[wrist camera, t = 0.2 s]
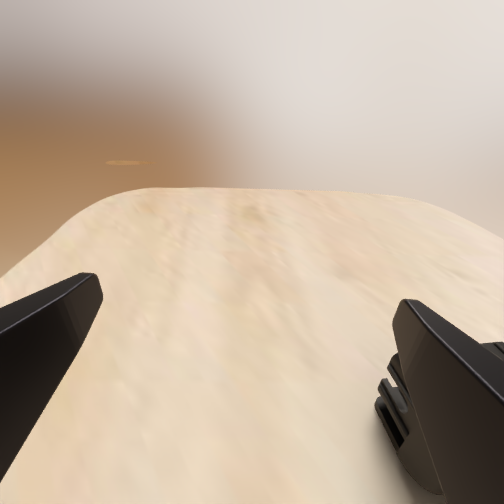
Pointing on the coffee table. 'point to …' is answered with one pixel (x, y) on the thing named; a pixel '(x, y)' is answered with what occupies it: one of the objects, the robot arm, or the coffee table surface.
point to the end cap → (411, 424)
